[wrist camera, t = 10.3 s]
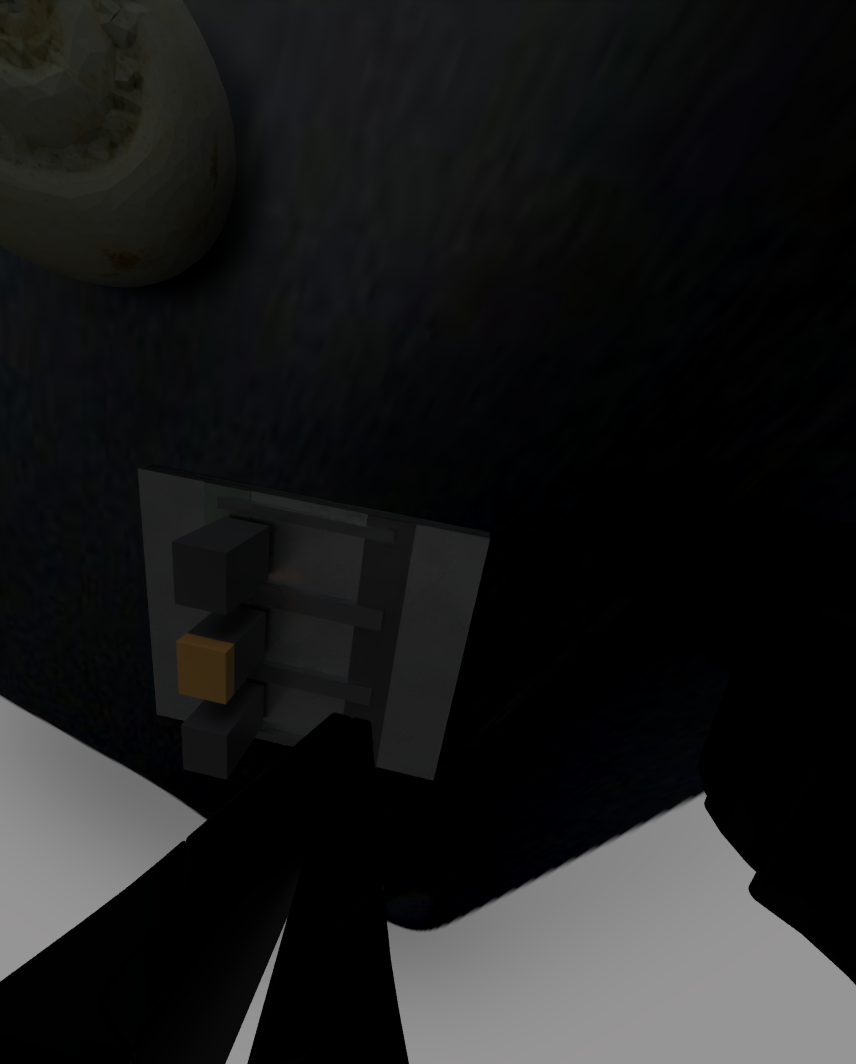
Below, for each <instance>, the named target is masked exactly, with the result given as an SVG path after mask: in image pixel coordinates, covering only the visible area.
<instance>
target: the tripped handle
mask: <svg viewBox="0 0 856 1064" xmlns="http://www.w3.org/2000/svg"><path fill="white" fill-rule="evenodd" d="M265 630H266V612H265V611H260V610H256V609H251V608H247V607H242V606H236V607H235V608H234V609H233V610H232V611H231V612H230V613H228V614H227V615H223V614H218V613H214V612H212V613H211V614H209V615H208V616H207V617H206V618H204V619H203V620H202V621H201V622H200V623H198V624H197V625H196V626H195V627H193V628H192V629H191V630H190V631H188V632H187V633H186V634H185V635H183V636H182V637H181V638H180V639H179V640H177V641H176V650H177V669H178V688H179V694H184V695H188V696H192V697H196V698H201V699H205V700H209V701H213V702H218V703H222V704H227V702H228V701H229V700H230V699H231V698H232V696H233V695H234V694H235V693H236V691H237V690H238V689H239V688H240V687H241V685H242V684H243V683H244V682H245V681H246V679H247V678H248V677H249V676H250V674H251V673H252V672H253V671H254V670H255V668H256V667H257V666H258V665H259V664H260V662H261V661H262V660H263V659H264V657H265Z"/></svg>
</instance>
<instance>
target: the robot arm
mask: <svg viewBox="0 0 856 1064" xmlns="http://www.w3.org/2000/svg"><path fill="white" fill-rule="evenodd" d="M686 500H689V501H690V504H689V506H688V507H686V508H682V504H683V502H684V501H686ZM638 582H639V584H640V587H639V589H638V592H637V594H636V597H635V600H634V602H633V605H632V611H633V613H634V614H635V616H636V617H637V618H638V619H641V620H645V621H649V622H654V623H659V624H664V625H669V626H673V627H675V628H677V629H680V630H682V631H683V632H684V633H685V634H686V635H687V637H688V638H689V639H690V640H691V641H692V643H693V644H694V645H695V646H696V647H697V648H698V650H699V651H700V652H701V653H702V654H703V655H704V657H705V658H706V659H707V660H708V661H709V663H710V664H712V665H715V666H720V667H724V668H725V669H726V670H727V671H728V673H729V674H730V675H731V677H730V680H729V682H728V685H727V687H726V690H725V693H724V695H723V698H722V700H721V703H720V705H719V708H718V710H717V713H716V716H715V718H714V721H713V723H712V726H711V728H710V731H709V733H708V736H707V739H706V741H705V744H704V746H703V749H702V753H701V756H700V760H699V763H698V767H699V772H700V776H701V780H702V784H703V788H704V791H705V793H706V795H707V797H706V800H705V802H704V804H705V808H706V810H707V811H708V813H709V814H710V816H711V818H712V819H713V821H714V823H715V824H716V826H717V827H718V829H719V830H720V832H721V833H722V834H723V836H724V837H725V838H726V839H727V840H728V841H729V843H730V844H731V845H732V846H733V847H734V848H735V849H736V851H737V852H738V853H739V854H740V856H741V857H742V858H743V859H744V860H745V861H746V862H747V863H748V864H749V865H750V866H751V868H753V869H754V870H755V871H756V874H755V876H754V878H753V879H752V882H751V883H750V885H749V892H750V894H751V896H752V897H753V898H754V899H755V900H756V901H758V902H759V903H760V904H761V905H763V906H764V907H766V908H767V909H768V910H769V911H771V912H772V913H774V914H775V915H776V916H778V917H779V918H781V919H782V920H783V921H785V922H786V923H787V924H789V925H790V926H791V927H793V928H794V929H796V930H797V931H798V932H800V933H801V934H802V935H803V936H804V937H806V938H807V939H808V940H809V941H810V942H811V943H812V944H813V945H814V946H815V947H816V948H818V949H819V950H820V951H821V952H822V953H823V954H824V955H825V956H826V957H827V958H829V959H830V960H831V961H832V962H833V963H834V964H835V965H836V966H837V967H838V968H839V969H840V970H842V971H843V972H844V973H845V974H846V975H847V976H848V977H849V978H850V979H851V980H852V981H853V982H854V984H855V985H856V524H855V523H845V522H835V521H825V520H823V519H820V518H818V517H815V516H810V515H805V514H800V513H794V512H789V511H784V510H778V509H773V508H768V507H762V506H757V505H752V504H746V503H741V502H736V501H730V500H725V499H720V498H714V497H709V496H704V495H698V494H693V493H681V494H678V495H677V496H676V497H675V498H674V500H673V501H672V504H671V507H670V509H669V512H668V514H667V517H666V519H665V522H664V525H663V527H662V530H661V532H660V533H658V534H657V535H655V537H654V540H653V542H652V545H651V548H650V550H649V553H648V555H647V558H646V561H645V563H644V566H643V568H642V571H641V574H640V576H639V579H638ZM643 607H648V609H647V610H646V611H644V612H640V610H641V608H643ZM383 889H384V882H383V869H382V855H381V842H380V829H379V816H378V803H377V790H376V777H375V764H374V751H373V738H372V725H371V721H370V720H368V719H364V718H360V717H353V718H351V716H350V715H346V714H341V713H337V712H334V713H332V714H330V715H329V716H328V717H327V718H326V719H324V720H323V721H322V722H321V723H320V724H319V725H317V726H316V727H315V728H314V729H313V730H312V731H310V732H309V733H308V734H307V735H306V736H305V737H303V738H302V739H301V740H300V741H299V742H298V743H296V744H295V745H294V746H293V747H292V748H291V749H289V750H288V751H287V752H286V753H285V754H284V755H282V756H281V757H280V758H279V759H278V760H277V761H275V762H274V763H273V764H272V765H271V766H270V767H268V768H267V769H266V770H265V771H264V772H263V773H261V774H260V775H259V776H258V777H257V778H256V779H255V780H253V781H252V782H251V783H250V784H249V785H248V786H246V787H245V788H244V789H243V790H242V791H241V792H239V793H238V794H237V795H236V796H235V797H234V798H232V799H231V800H230V801H229V802H228V803H227V804H225V805H224V806H223V807H222V808H221V809H220V810H218V811H217V812H216V813H215V814H214V815H213V816H211V817H210V818H209V819H208V820H207V821H206V822H204V824H202V825H201V826H200V827H199V828H198V829H196V830H195V831H194V832H193V833H192V834H191V835H189V836H188V837H187V839H186V842H185V841H182V842H181V843H180V844H178V846H176V847H175V848H174V849H173V850H172V851H170V852H169V853H168V854H167V855H166V856H165V857H164V858H162V859H161V860H160V861H159V862H157V863H156V864H155V865H154V866H153V867H151V868H150V869H149V870H148V871H146V872H145V873H144V874H143V875H142V876H140V877H139V878H138V879H137V880H136V881H134V882H133V883H132V884H131V885H130V886H128V887H127V888H126V889H125V890H123V891H122V892H120V893H119V894H118V895H117V896H115V897H114V898H113V899H111V900H110V901H109V902H107V903H106V904H105V905H103V906H102V907H101V908H99V909H98V910H97V911H96V912H94V913H93V914H91V915H90V916H89V917H88V918H86V919H85V920H84V921H82V922H81V923H80V924H78V925H77V926H76V927H74V928H73V929H71V930H70V931H69V932H67V933H66V934H65V935H63V936H62V937H61V938H59V939H58V940H57V941H55V942H54V943H52V944H51V945H50V946H49V947H47V948H45V949H44V950H43V951H41V952H40V953H39V954H37V955H36V956H35V957H33V958H32V959H30V960H29V961H28V962H27V963H25V964H24V965H22V966H21V967H20V968H18V969H17V970H16V971H14V972H13V973H11V974H10V975H9V976H7V977H6V978H5V979H3V980H2V981H1V982H0V1064H225V1063H226V1061H227V1058H228V1056H229V1053H230V1051H231V1049H232V1047H233V1044H234V1042H235V1040H236V1037H237V1035H238V1032H239V1030H240V1028H241V1025H242V1023H243V1021H244V1018H245V1016H246V1014H247V1011H248V1009H249V1006H250V1004H251V1002H252V999H253V997H254V995H255V992H256V990H257V988H258V985H259V983H260V981H261V978H262V976H263V973H264V971H265V969H266V966H267V964H268V962H269V959H270V957H271V954H272V952H273V950H274V947H275V945H276V943H277V940H278V938H279V936H280V933H281V931H282V928H283V926H284V924H285V921H286V919H287V921H286V925H285V929H284V933H283V936H282V940H281V943H280V947H279V951H278V955H277V958H276V961H275V965H274V969H273V973H272V976H271V980H270V983H269V987H268V991H267V995H266V998H265V1002H264V1005H263V1009H262V1012H261V1016H260V1020H259V1023H258V1027H257V1031H256V1034H255V1038H254V1041H253V1045H252V1049H251V1053H250V1056H249V1060H248V1064H409V1062H408V1056H407V1051H406V1045H405V1040H404V1035H403V1029H402V1024H401V1018H400V1013H399V1008H398V1001H397V996H396V989H395V983H394V976H393V970H392V964H391V956H390V947H389V938H388V929H387V918H386V905H385V893H384V891H383ZM287 917H288V918H287Z"/></svg>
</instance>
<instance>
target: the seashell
mask: <svg viewBox="0 0 856 1064" xmlns="http://www.w3.org/2000/svg"><path fill="white" fill-rule="evenodd" d="M235 179H236V147H235V139H234V130H233V123H232V118H231V113H230V109H229V104H228V99H227V96H226V93H225V90H224V87H223V84H222V81H221V79H220V76H219V73H218V70H217V67H216V65H215V62H214V60H213V58H212V56H211V53H210V51H209V49H208V46H207V44H206V42H205V40H204V38H203V36H202V34H201V32H200V30H199V28H198V26H197V24H196V23H195V21H194V19H193V18H192V16H191V14H190V12H189V11H188V9H187V7H186V6H185V4H184V2H183V1H182V0H0V245H1V246H2V247H4V248H5V249H7V250H9V251H11V252H12V253H14V254H16V255H18V256H19V257H21V258H23V259H25V260H27V261H29V262H31V263H33V264H35V265H37V266H40V267H42V268H44V269H46V270H48V271H51V272H53V273H56V274H59V275H61V276H64V277H67V278H70V279H74V280H78V281H82V282H86V283H91V284H97V285H103V286H110V287H139V286H145V285H150V284H155V283H158V282H161V281H164V280H167V279H169V278H172V277H174V276H176V275H178V274H180V273H181V272H183V271H185V270H186V269H187V268H189V267H190V266H192V265H193V264H194V263H196V262H197V261H198V260H200V259H201V258H202V257H203V255H204V254H205V253H206V252H207V251H208V250H209V249H210V248H211V246H212V245H213V244H214V243H215V241H216V239H217V238H218V236H219V234H220V233H221V231H222V230H223V227H224V224H225V222H226V219H227V216H228V214H229V210H230V206H231V202H232V198H233V193H234V188H235Z"/></svg>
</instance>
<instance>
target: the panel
mask: <svg viewBox="0 0 856 1064" xmlns="http://www.w3.org/2000/svg"><path fill="white" fill-rule="evenodd" d="M138 478H139V491H140V504H141V516H142V529H143V542H144V555H145V568H146V581H147V594H148V606H149V619H150V632H151V645H152V658H153V671H154V683H155V696H156V709H157V714H158V715H162V716H167V717H171V718H175V719H179V720H183V721H186V719H187V718H188V717H189V716H190V715H191V714H192V713H193V712H194V711H195V710H196V708H197V707H198V706H199V705H200V704H201V703H202V702H203V701H204V700H205V699H201V698H196V697H192V696H188V695H184V694H179V688H178V669H177V650H176V641H177V640H179V639H180V638H181V637H182V636H183V635H185V634H186V633H187V632H188V631H190V630H191V629H192V628H193V627H195V626H196V625H197V624H198V623H200V622H201V621H202V620H203V619H204V618H206V617H207V616H208V615H209V614H211V613H212V612H209V611H205V610H200V609H196V608H191V607H187V606H182V605H178V604H175V597H174V578H173V559H172V541H174V540H176V539H178V538H180V537H182V536H184V535H186V534H189V533H191V532H193V531H195V530H197V529H199V528H201V527H203V526H205V525H207V524H210V523H212V522H214V521H216V520H218V519H220V518H222V517H224V516H225V517H230V518H235V519H239V520H244V521H249V522H254V523H259V524H264V525H269V526H270V539H269V567H268V580H266V581H265V582H264V583H263V584H262V585H261V586H260V587H258V588H257V589H256V590H255V591H254V592H253V593H251V594H250V595H249V596H248V597H247V598H246V599H245V600H243V601H242V602H241V603H240V604H239V605H238V606H242V607H247V608H251V609H256V610H260V611H265V612H266V630H265V657H264V659H263V660H262V661H261V662H260V664H259V665H258V666H257V667H256V668H255V670H254V671H253V672H252V673H251V674H250V676H249V677H248V678H247V679H246V681H245V682H250V683H254V684H258V685H263V686H264V705H263V726H262V727H261V729H260V730H259V732H258V733H257V735H256V736H255V738H258V739H263V740H267V741H271V742H275V743H279V744H284V745H288V746H292V747H293V746H294V745H295V744H296V743H298V742H299V741H300V740H301V739H302V738H303V737H305V736H306V735H307V734H308V733H309V732H310V731H312V730H313V729H314V728H315V727H316V726H317V725H319V724H320V723H321V722H322V721H323V720H324V719H326V718H327V717H328V716H329V715H330V714H332V713H334V712H337V713H341V714H346V715H350V716H351V718H353V717H360V718H364V719H368V720H370V721H371V725H372V738H373V751H374V764H375V768H376V767H380V768H384V769H388V770H392V771H396V772H400V773H405V774H409V775H413V776H417V777H421V778H425V779H430V780H433V779H434V775H435V771H436V767H437V762H438V758H439V754H440V750H441V745H442V741H443V737H444V733H445V728H446V724H447V720H448V716H449V711H450V707H451V703H452V699H453V694H454V690H455V686H456V682H457V677H458V673H459V669H460V665H461V660H462V656H463V652H464V648H465V643H466V639H467V635H468V631H469V626H470V622H471V618H472V614H473V609H474V605H475V601H476V597H477V592H478V588H479V584H480V580H481V575H482V571H483V567H484V562H485V558H486V554H487V550H488V545H489V541H490V532H486V531H481V530H476V529H471V528H466V527H461V526H456V525H451V524H446V523H441V522H436V521H431V520H426V519H421V518H416V517H411V516H406V515H401V514H396V513H391V512H386V511H381V510H376V509H371V508H366V507H361V506H356V505H351V504H346V503H341V502H336V501H331V500H326V499H321V498H316V497H311V496H306V495H301V494H296V493H291V492H286V491H280V490H275V489H270V488H265V487H260V486H255V485H250V484H245V483H240V482H235V481H230V480H225V479H220V478H215V477H210V476H205V475H200V474H195V473H190V472H185V471H180V470H175V469H170V468H165V467H160V466H155V465H151V466H146V467H142V468H138Z"/></svg>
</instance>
